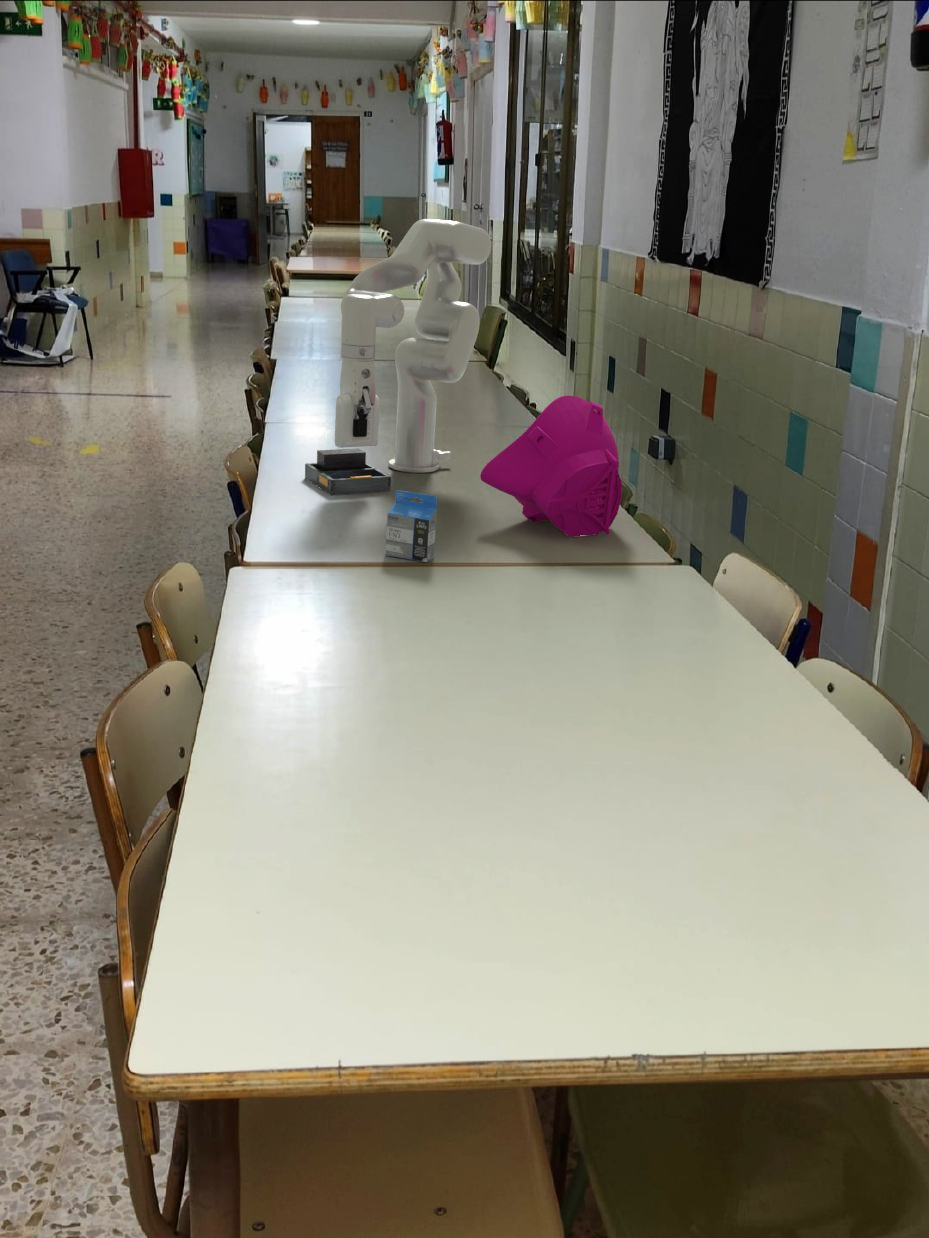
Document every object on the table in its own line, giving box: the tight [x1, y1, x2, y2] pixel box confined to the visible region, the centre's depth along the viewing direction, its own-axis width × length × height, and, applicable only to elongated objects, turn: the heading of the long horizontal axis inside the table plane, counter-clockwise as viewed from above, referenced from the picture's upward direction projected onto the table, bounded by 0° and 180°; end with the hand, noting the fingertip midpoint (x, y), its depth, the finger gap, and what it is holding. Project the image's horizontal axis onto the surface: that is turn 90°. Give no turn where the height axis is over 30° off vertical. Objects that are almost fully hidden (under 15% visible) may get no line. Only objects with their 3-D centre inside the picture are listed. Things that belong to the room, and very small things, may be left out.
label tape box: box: [384, 489, 438, 563], centre depth 228 cm, size 9×4×12 cm, turn 69°
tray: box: [304, 447, 392, 496], centre depth 279 cm, size 15×16×7 cm
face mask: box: [479, 394, 623, 538], centre depth 252 cm, size 28×23×30 cm
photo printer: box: [334, 393, 381, 449], centre depth 271 cm, size 10×4×12 cm, turn 123°
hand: (355, 433), depth 272 cm, fingers closed on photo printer, 4 cm apart
